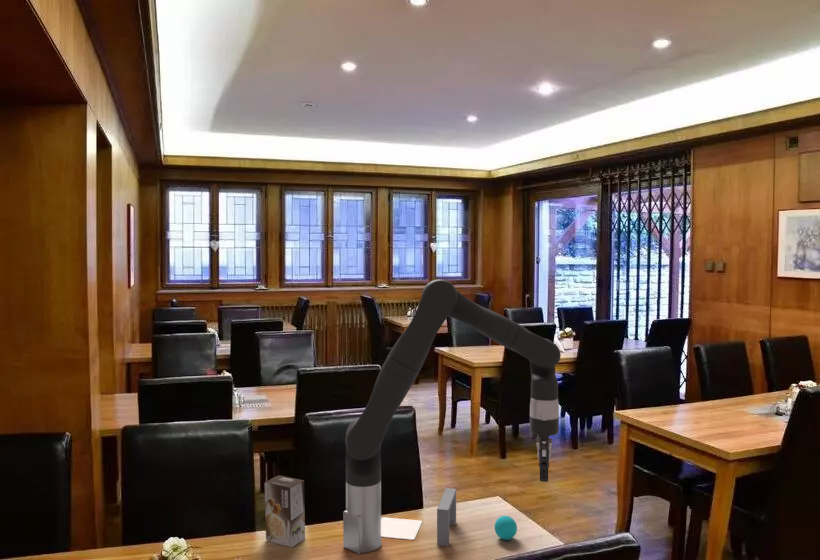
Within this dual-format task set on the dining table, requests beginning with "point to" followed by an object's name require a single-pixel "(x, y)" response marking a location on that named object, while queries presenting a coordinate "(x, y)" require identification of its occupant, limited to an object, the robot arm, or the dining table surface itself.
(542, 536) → the dining table surface
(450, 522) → the bridge
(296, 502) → the coffee box
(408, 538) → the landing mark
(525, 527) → the dining table surface
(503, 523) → the ball
